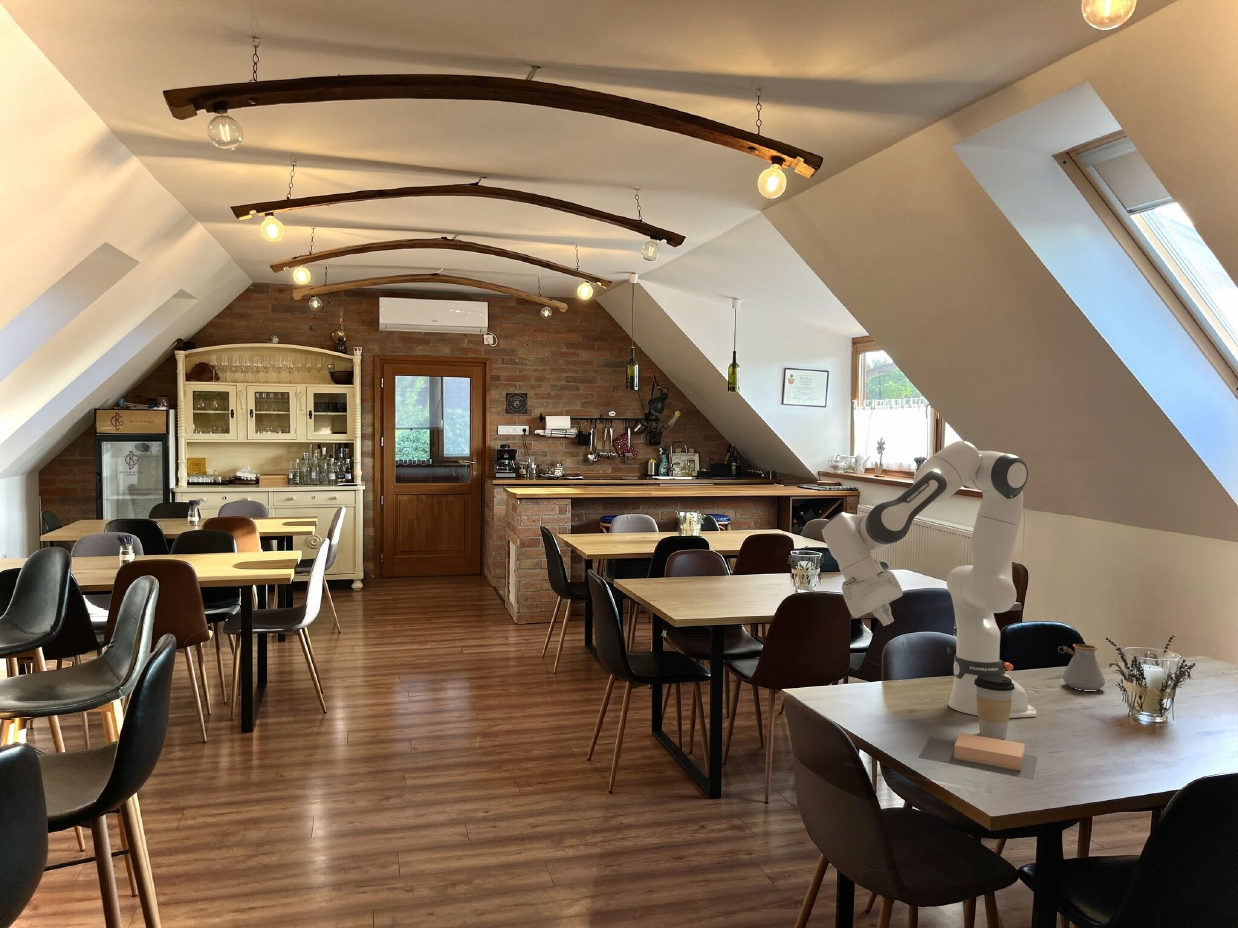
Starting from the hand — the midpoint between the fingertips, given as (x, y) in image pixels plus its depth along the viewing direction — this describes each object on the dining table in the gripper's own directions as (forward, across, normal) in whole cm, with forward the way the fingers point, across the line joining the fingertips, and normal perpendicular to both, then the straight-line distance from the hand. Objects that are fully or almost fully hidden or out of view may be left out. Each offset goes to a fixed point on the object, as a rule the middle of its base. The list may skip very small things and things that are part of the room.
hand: (889, 623), depth 215 cm
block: (+31, -3, -3) cm, 31 cm away
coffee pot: (+42, +76, +5) cm, 87 cm away
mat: (+36, -2, -5) cm, 36 cm away
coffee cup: (+36, +16, 0) cm, 39 cm away
